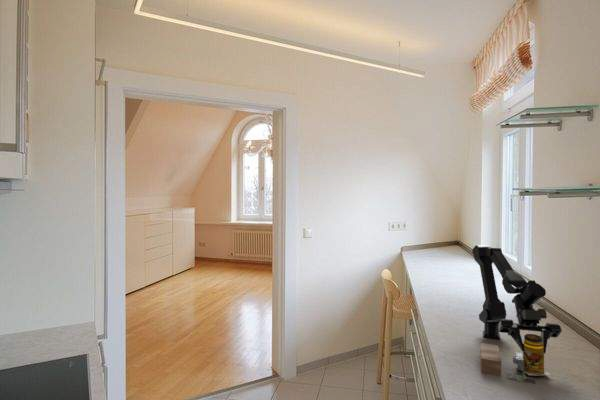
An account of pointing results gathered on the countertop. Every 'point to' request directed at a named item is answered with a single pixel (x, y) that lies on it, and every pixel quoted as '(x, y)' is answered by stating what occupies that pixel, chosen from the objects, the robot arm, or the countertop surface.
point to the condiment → (533, 355)
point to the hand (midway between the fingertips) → (533, 352)
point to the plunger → (519, 362)
